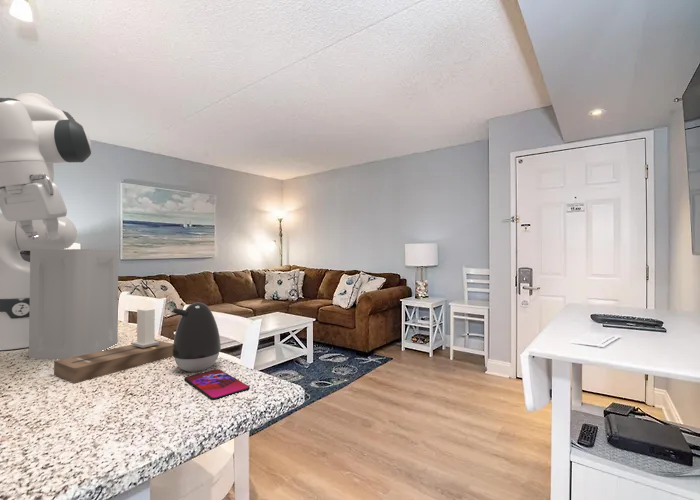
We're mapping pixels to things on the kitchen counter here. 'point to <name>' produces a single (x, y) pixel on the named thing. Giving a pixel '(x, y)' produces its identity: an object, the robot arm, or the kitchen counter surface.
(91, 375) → the board
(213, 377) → the smartphone
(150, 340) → the fader tab
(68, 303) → the grey box
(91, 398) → the kitchen counter surface
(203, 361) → the pump dispenser
